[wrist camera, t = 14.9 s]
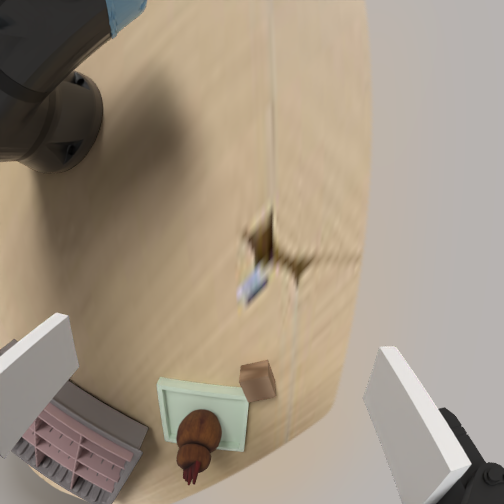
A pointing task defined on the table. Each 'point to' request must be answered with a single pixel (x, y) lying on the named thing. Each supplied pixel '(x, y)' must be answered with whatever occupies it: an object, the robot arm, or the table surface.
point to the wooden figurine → (197, 442)
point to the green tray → (204, 397)
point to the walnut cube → (257, 381)
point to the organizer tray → (82, 444)
